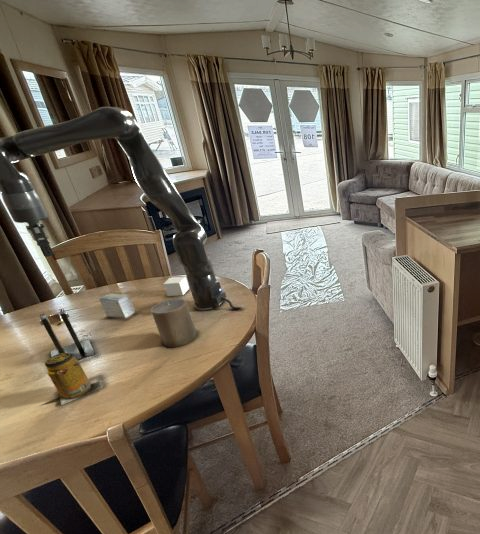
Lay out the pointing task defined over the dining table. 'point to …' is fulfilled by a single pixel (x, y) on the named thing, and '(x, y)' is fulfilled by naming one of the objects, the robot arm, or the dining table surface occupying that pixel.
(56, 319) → the lever
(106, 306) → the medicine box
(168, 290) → the white cube
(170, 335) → the pillar candle
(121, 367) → the dining table surface
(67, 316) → the bracket
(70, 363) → the condiment
